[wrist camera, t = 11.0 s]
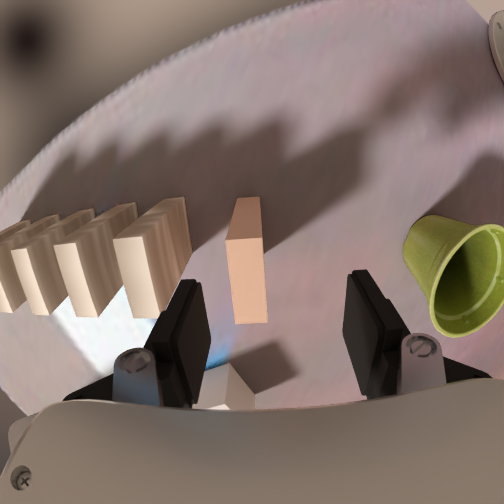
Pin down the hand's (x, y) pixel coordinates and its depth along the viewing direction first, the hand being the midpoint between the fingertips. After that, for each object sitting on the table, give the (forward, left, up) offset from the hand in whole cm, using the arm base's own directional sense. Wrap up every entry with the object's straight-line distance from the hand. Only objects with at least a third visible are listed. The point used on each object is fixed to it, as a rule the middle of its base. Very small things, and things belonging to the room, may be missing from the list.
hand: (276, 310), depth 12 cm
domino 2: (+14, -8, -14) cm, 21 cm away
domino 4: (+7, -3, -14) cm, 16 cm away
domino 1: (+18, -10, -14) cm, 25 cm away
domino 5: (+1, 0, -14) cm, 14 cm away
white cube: (+15, +14, -14) cm, 25 cm away
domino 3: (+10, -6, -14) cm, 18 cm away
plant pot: (-12, +11, -14) cm, 21 cm away
